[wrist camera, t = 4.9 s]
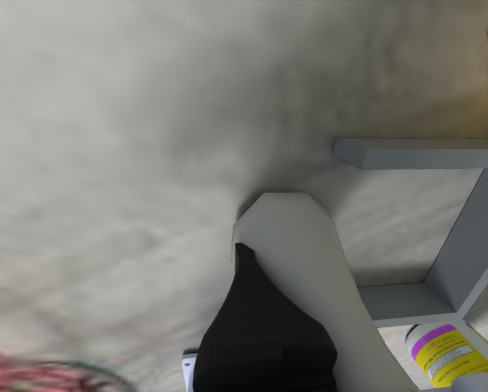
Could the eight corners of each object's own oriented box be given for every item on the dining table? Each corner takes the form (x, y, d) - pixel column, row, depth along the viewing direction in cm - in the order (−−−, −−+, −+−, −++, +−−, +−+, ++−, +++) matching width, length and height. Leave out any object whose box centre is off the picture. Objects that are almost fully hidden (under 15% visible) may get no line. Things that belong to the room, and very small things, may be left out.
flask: (345, 205, 15) (561, 370, 6) (296, 279, 17) (399, 472, 8) (255, 173, 12) (400, 373, 4) (213, 264, 15) (238, 516, 6)
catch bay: (429, 289, 20) (462, 319, 17) (302, 299, 19) (316, 333, 16) (513, 139, 14) (584, 149, 11) (335, 138, 13) (367, 149, 10)
